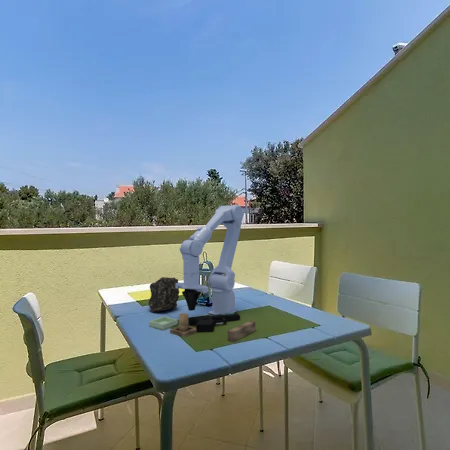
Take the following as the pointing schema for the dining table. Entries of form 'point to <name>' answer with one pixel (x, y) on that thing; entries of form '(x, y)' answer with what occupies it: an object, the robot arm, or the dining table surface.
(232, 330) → the rail
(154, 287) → the rock
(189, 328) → the socket
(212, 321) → the handgun
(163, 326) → the tray
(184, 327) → the dowel
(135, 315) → the dining table surface
